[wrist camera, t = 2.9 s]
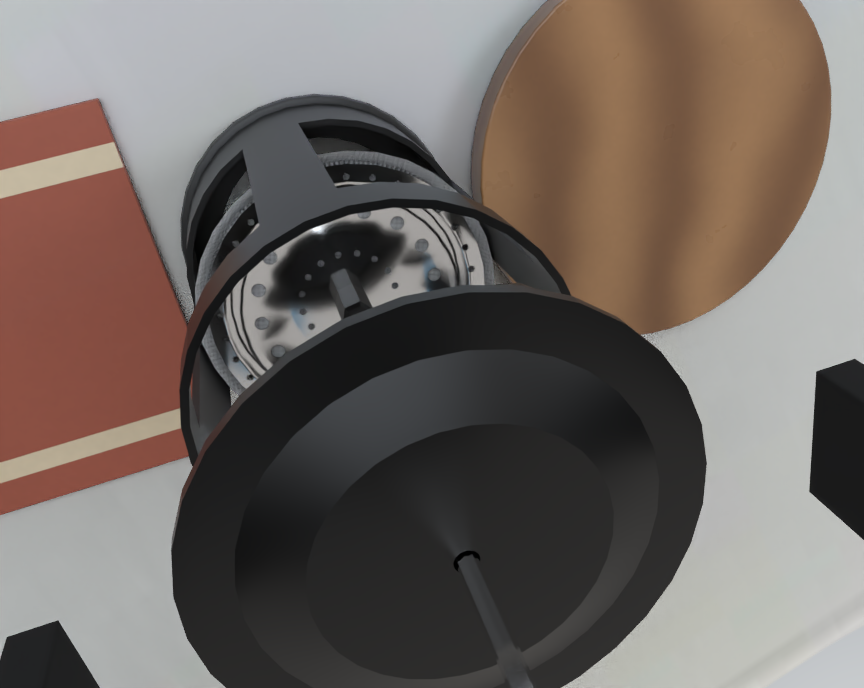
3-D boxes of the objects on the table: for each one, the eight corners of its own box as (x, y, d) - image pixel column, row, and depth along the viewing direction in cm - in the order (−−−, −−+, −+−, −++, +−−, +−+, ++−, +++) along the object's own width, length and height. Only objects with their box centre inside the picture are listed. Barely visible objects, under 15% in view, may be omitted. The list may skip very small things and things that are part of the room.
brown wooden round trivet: (501, 365, 32) (511, 379, 31) (436, -2, 25) (447, 0, 24) (803, 271, 34) (822, 280, 32) (819, -94, 27) (844, -96, 26)
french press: (111, 150, 24) (-295, 1016, 4) (381, 24, 25) (1124, 286, 5) (283, 426, 30) (444, 1332, 10) (498, 319, 31) (1053, 988, 11)
